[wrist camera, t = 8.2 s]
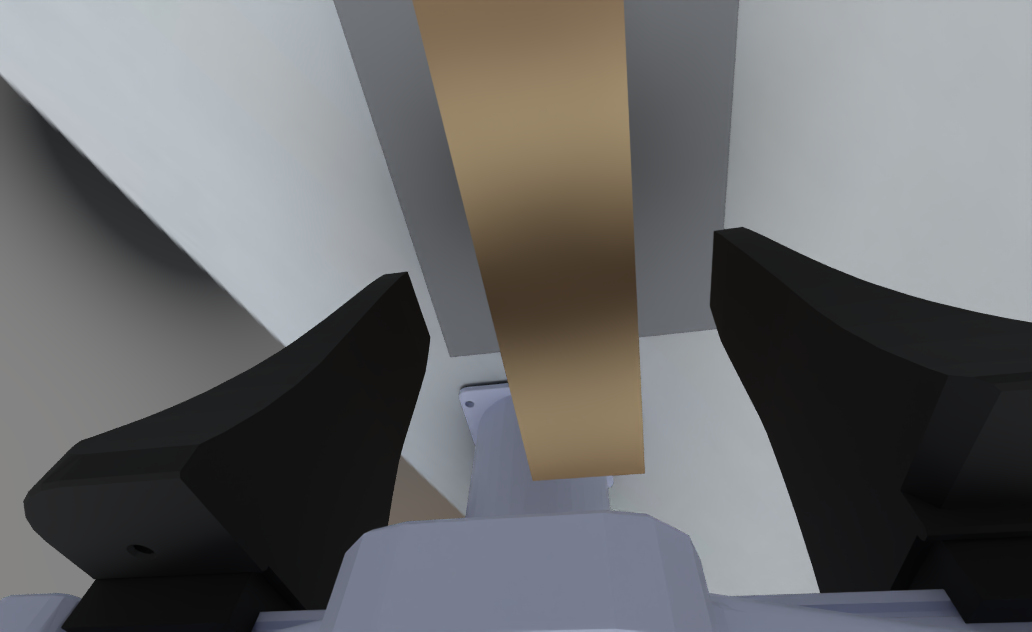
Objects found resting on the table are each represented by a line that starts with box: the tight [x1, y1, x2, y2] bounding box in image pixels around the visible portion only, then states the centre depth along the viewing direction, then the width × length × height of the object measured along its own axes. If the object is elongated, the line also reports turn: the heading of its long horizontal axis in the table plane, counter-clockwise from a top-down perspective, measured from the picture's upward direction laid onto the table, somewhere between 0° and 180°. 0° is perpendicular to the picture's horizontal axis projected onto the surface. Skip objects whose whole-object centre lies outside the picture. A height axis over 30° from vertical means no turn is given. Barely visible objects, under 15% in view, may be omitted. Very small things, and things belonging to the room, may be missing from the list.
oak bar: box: [412, 0, 645, 481], centre depth 15 cm, size 14×4×6 cm, turn 10°
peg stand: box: [333, 0, 739, 357], centre depth 19 cm, size 18×13×4 cm
